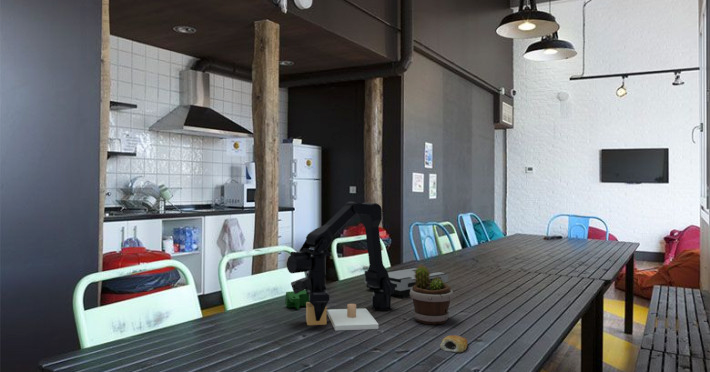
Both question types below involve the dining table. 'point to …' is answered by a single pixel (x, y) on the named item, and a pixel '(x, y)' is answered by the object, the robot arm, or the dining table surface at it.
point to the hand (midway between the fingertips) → (316, 317)
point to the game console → (408, 280)
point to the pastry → (454, 344)
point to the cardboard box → (311, 315)
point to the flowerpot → (430, 298)
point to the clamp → (296, 299)
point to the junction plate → (352, 318)
